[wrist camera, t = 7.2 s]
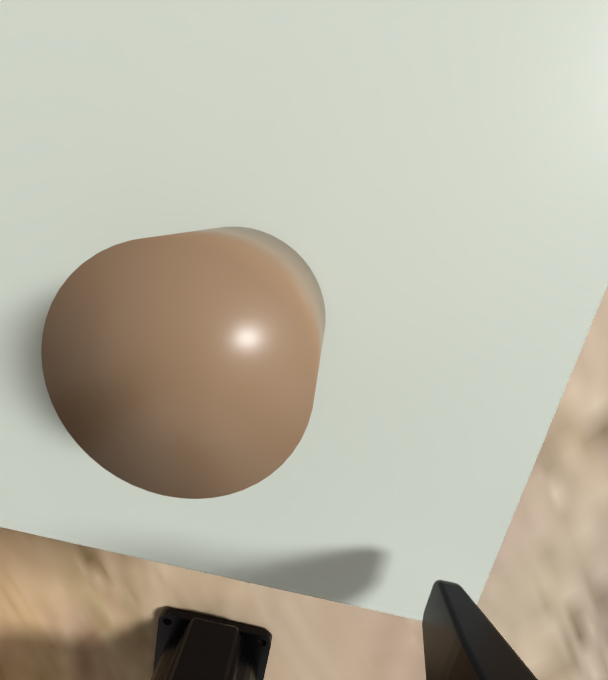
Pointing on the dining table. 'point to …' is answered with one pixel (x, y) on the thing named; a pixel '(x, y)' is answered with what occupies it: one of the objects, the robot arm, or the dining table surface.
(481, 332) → the panel
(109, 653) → the dining table surface
